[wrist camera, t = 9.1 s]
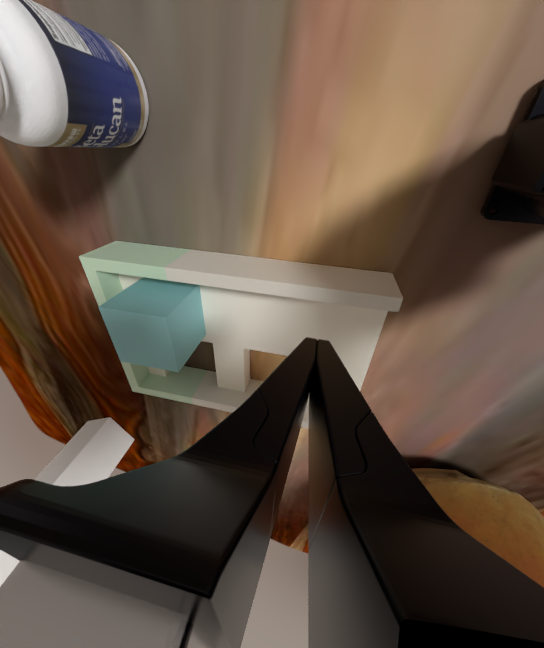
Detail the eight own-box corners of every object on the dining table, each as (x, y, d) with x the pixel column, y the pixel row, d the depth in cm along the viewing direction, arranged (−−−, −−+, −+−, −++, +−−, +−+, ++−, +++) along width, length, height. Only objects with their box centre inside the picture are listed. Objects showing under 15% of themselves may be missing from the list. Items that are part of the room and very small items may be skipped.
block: (199, 284, 21) (165, 317, 17) (206, 334, 24) (178, 372, 20) (143, 277, 21) (98, 306, 17) (156, 326, 24) (120, 361, 20)
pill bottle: (135, 166, 19) (-13, 179, 11) (66, 107, 17) (-158, 72, 10) (165, 86, 16) (-10, 22, 8) (83, 8, 15) (-219, -159, 7)
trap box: (392, 273, 19) (403, 298, 16) (349, 403, 28) (350, 437, 24) (116, 240, 22) (78, 256, 19) (154, 366, 31) (132, 391, 28)
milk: (110, 416, 40) (-71, 628, 22) (135, 439, 43) (-9, 646, 25) (87, 420, 43) (-94, 615, 25) (112, 442, 45) (-35, 633, 27)
